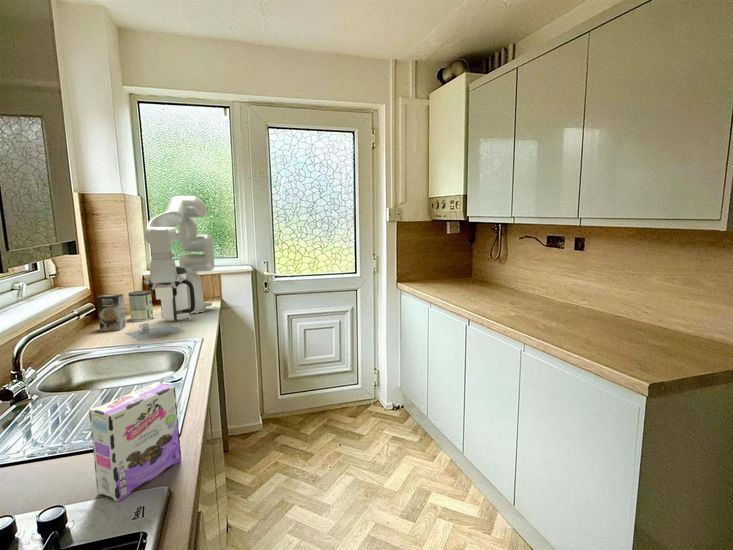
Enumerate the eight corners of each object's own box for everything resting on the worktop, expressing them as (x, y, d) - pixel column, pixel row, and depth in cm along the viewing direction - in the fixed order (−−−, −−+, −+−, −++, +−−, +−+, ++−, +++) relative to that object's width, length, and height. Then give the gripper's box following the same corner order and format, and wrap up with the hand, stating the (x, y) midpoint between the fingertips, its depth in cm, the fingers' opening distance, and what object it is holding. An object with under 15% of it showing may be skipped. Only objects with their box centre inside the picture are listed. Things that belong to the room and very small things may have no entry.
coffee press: (156, 326, 190) (151, 263, 186) (162, 319, 205) (157, 260, 201) (196, 323, 195) (191, 262, 191) (199, 316, 210) (194, 259, 206)
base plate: (170, 327, 188) (169, 324, 188) (185, 333, 178) (185, 330, 178) (125, 336, 174) (124, 333, 174) (138, 343, 164) (138, 340, 164)
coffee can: (130, 318, 208) (127, 291, 206) (153, 315, 213) (150, 289, 211) (130, 322, 199) (128, 294, 197) (154, 319, 204) (151, 292, 202)
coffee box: (99, 331, 184) (95, 296, 182) (106, 327, 190) (102, 294, 188) (121, 330, 185) (117, 295, 183) (126, 326, 191) (123, 293, 189)
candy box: (117, 503, 71) (107, 415, 68) (96, 494, 73) (86, 409, 71) (182, 460, 83) (176, 384, 81) (163, 454, 85) (156, 380, 83)
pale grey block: (146, 331, 177) (145, 323, 176) (149, 331, 176) (148, 323, 175) (139, 333, 174) (138, 324, 173) (142, 333, 173) (141, 325, 172)
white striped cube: (174, 295, 180) (173, 284, 179) (172, 298, 174) (171, 286, 173) (158, 296, 178) (157, 285, 177) (156, 299, 172) (155, 287, 171)
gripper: (184, 255, 179) (188, 294, 182) (141, 256, 174) (145, 297, 177) (182, 256, 172) (186, 297, 175) (137, 258, 167) (141, 300, 170)
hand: (165, 297), depth 176 cm, fingers closed on white striped cube, 6 cm apart
